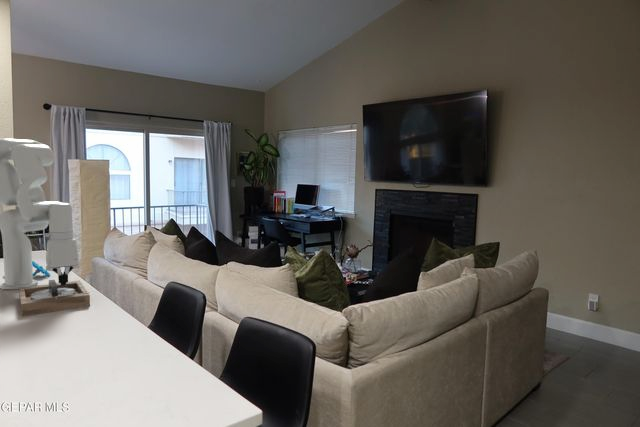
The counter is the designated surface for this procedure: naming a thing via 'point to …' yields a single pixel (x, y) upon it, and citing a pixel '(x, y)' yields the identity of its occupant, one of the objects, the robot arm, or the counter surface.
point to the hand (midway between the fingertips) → (63, 284)
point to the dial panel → (53, 299)
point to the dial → (52, 291)
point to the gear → (39, 269)
